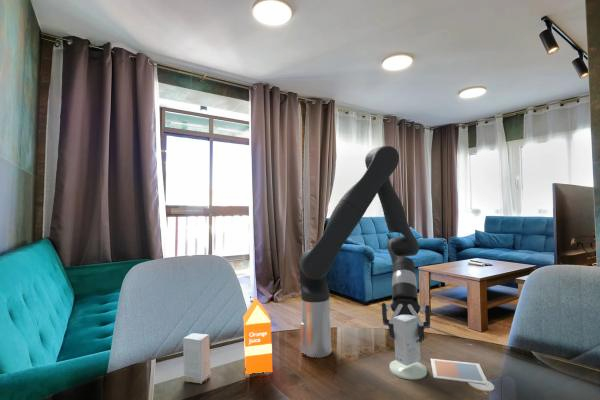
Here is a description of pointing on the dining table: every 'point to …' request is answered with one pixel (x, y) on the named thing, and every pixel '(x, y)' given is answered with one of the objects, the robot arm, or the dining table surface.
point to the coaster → (408, 370)
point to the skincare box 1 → (196, 356)
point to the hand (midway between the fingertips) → (406, 340)
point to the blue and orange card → (458, 371)
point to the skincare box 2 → (406, 339)
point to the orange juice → (257, 339)
